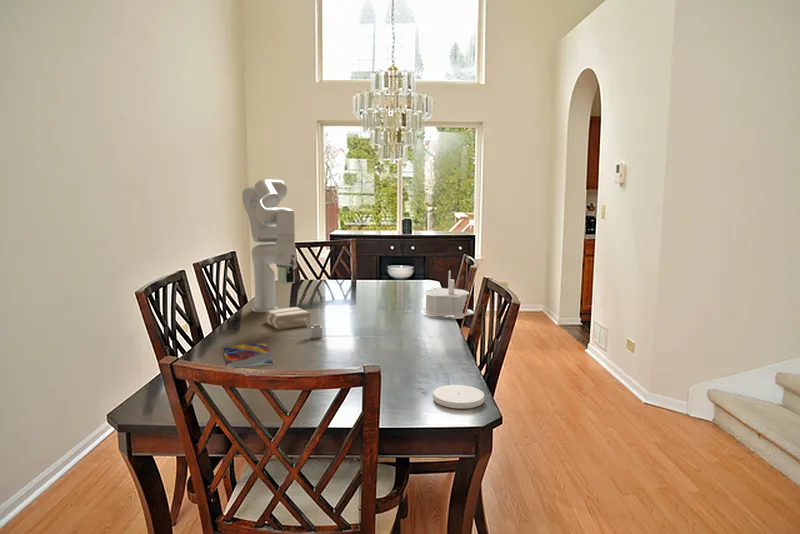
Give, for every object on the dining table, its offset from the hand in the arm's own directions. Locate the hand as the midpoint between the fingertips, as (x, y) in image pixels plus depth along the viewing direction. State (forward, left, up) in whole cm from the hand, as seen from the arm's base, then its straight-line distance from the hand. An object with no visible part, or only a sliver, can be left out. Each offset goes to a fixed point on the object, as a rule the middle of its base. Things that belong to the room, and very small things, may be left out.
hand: (286, 280), depth 236 cm
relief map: (+29, -37, -20) cm, 51 cm away
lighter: (+25, -6, -19) cm, 32 cm away
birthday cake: (+33, +68, -20) cm, 78 cm away
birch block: (0, +1, -20) cm, 20 cm away
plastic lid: (+106, -18, -20) cm, 109 cm away
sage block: (0, 0, -1) cm, 1 cm away
